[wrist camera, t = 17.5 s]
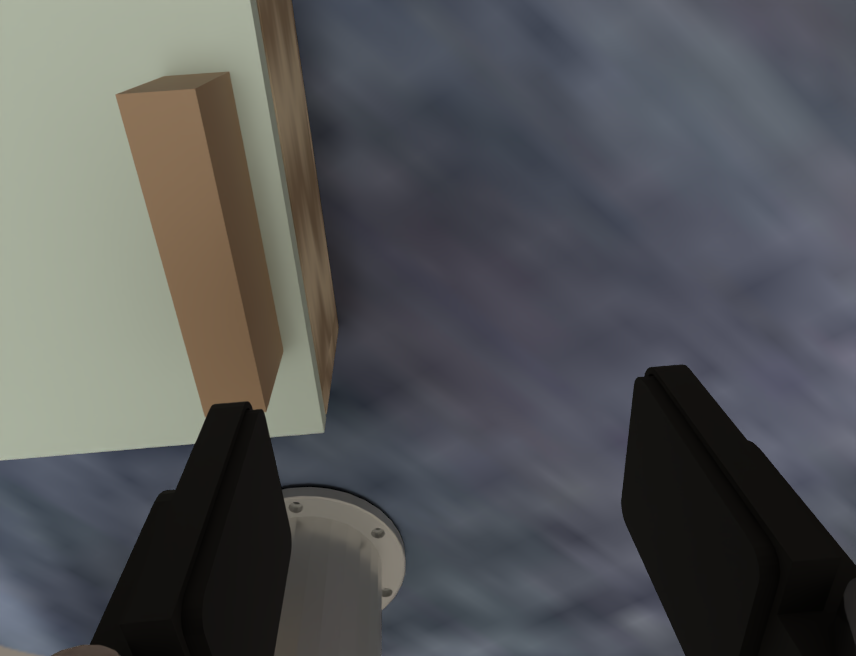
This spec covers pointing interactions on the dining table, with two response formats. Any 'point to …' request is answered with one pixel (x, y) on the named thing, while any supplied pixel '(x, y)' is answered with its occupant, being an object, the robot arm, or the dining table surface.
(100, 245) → the lid
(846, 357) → the dining table surface
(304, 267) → the toolbox
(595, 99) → the dining table surface
